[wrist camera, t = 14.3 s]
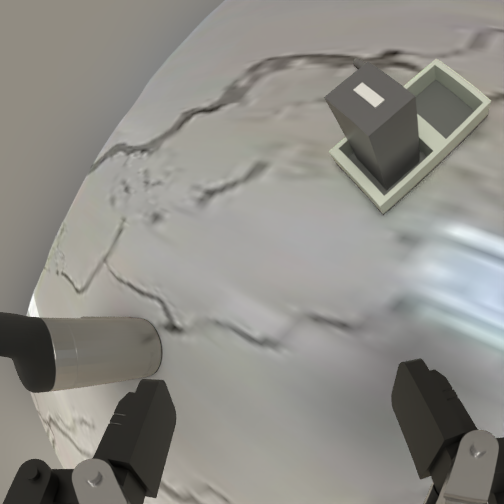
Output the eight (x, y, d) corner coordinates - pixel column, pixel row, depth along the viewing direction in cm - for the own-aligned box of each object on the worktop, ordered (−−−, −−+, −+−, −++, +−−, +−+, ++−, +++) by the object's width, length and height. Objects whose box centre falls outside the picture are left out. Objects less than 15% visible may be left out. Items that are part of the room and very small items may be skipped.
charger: (356, 158, 31) (323, 96, 21) (388, 131, 30) (367, 60, 19) (386, 190, 29) (367, 135, 19) (419, 161, 28) (415, 94, 17)
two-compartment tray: (290, 118, 37) (279, 106, 34) (384, 40, 31) (379, 24, 28) (383, 215, 30) (380, 206, 27) (487, 116, 24) (491, 100, 21)
